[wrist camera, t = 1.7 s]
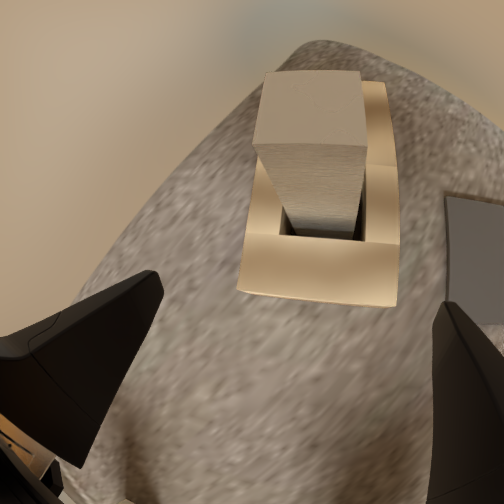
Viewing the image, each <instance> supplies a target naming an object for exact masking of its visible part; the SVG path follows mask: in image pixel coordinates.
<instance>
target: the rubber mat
mask: <svg viewBox="0 0 504 504" xmlns="http://www.w3.org/2000/svg"><path fill="white" fill-rule="evenodd" d="M444 204H445V216H446V232H447V286H446V301H453V302H456V303H457V304H458V305H459V306H460V307H461V309H462V310H463V311H464V312H465V313H466V314H467V315H468V316H469V317H470V318H471V319H472V320H473V322H474V323H475V324H504V206H501V205H496V204H491V203H486V202H480V201H475V200H469V199H463V198H456V197H450V196H446V197H445V198H444Z"/></svg>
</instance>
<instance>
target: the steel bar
mask: <svg viewBox="0 0 504 504" xmlns="http://www.w3.org/2000/svg"><path fill="white" fill-rule="evenodd" d="M252 145H253V147H254V149H255V151H256V153H257V155H258V157H259V158H260V160H261V162H262V164H263V166H264V168H265V170H266V172H267V174H268V176H269V178H270V180H271V182H272V184H273V186H274V188H275V190H276V193H277V195H278V197H279V199H280V201H281V203H282V205H283V207H284V209H285V211H286V213H287V215H288V218H289V220H290V222H291V224H292V226H293V228H294V230H295V232H296V235H297V236H301V237H314V238H327V239H339V240H352V238H353V233H354V228H355V223H356V218H357V213H358V207H359V202H360V196H361V190H362V184H363V177H364V171H365V163H366V156H367V148H368V142H367V128H366V117H365V107H364V98H363V90H362V83H361V76H360V71H344V70H299V71H280V72H267V73H266V75H265V79H264V84H263V89H262V94H261V100H260V105H259V110H258V115H257V120H256V126H255V131H254V136H253V142H252Z"/></svg>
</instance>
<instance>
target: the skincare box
mask: <svg viewBox="0 0 504 504" xmlns="http://www.w3.org/2000/svg"><path fill="white" fill-rule="evenodd" d="M117 504H135V503H133V502H131V501H129V500H127V499H125V500H123V501H121V502H119V503H117Z"/></svg>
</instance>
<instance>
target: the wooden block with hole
mask: <svg viewBox="0 0 504 504" xmlns="http://www.w3.org/2000/svg"><path fill="white" fill-rule="evenodd" d="M361 83H362V90H363V98H364V107H365V117H366V128H367V142H368V148H367V156H366V163H365V171H364V177H363V184H362V222H361V241H352V240H339V239H327V238H314V237H301V236H291V227H292V224H291V222H290V220H289V218H288V215H287V213H286V211H285V209H284V207H283V205H282V203H281V201H280V199H279V197H278V195H277V193H276V190H275V188H274V186H273V184H272V182H271V180H270V178H269V176H268V174H267V172H266V170H265V168H264V166H263V164H262V162H261V160H260V158H259V157H258V159H257V165H256V171H255V177H254V183H253V189H252V195H251V202H250V208H249V214H248V220H247V226H246V232H245V239H244V245H243V251H242V258H241V264H240V270H239V277H238V283H237V289H238V290H241V291H244V292H247V293H250V294H254V295H261V296H269V297H277V298H285V299H293V300H302V301H311V302H320V303H330V304H340V305H350V306H361V307H373V308H389V307H394V306H396V301H397V289H398V274H399V251H400V211H399V187H398V173H397V161H396V151H395V143H394V135H393V128H392V121H391V115H390V109H389V103H388V98H387V93H386V88H385V83H384V82H374V81H361Z"/></svg>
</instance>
